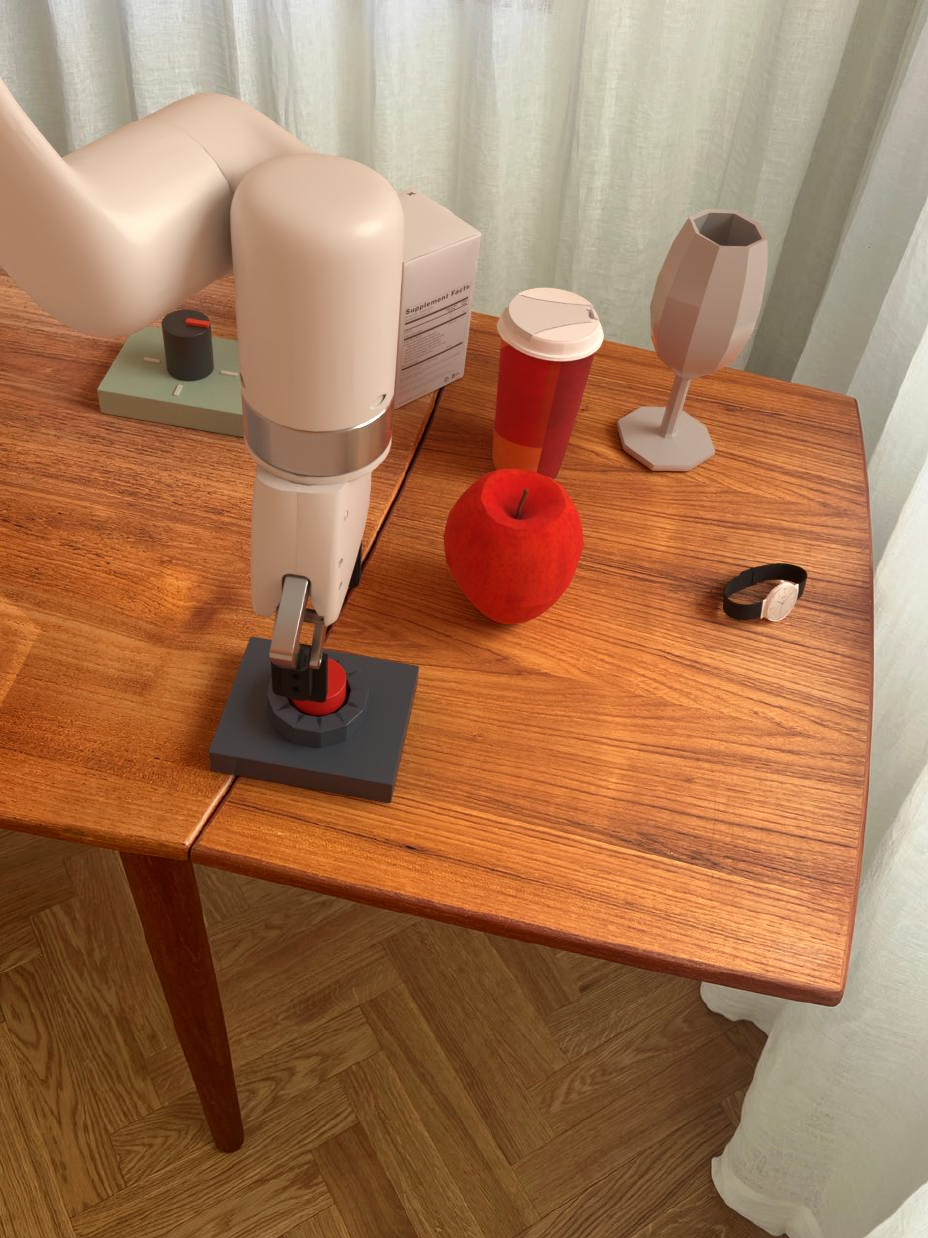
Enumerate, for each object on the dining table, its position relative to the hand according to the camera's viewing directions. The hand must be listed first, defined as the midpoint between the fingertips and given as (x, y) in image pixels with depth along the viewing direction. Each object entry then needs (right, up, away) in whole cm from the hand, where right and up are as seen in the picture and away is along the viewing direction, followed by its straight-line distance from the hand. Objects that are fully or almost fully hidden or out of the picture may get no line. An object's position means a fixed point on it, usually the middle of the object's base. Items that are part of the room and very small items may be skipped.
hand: (318, 635), depth 69 cm
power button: (-1, -4, +4) cm, 6 cm away
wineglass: (+27, +17, +31) cm, 45 cm away
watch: (+32, +2, +19) cm, 38 cm away
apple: (+12, +2, +16) cm, 20 cm away
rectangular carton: (+3, +24, +34) cm, 42 cm away
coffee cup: (+14, +14, +28) cm, 34 cm away
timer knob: (-15, +23, +27) cm, 39 cm away
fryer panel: (-15, +21, +29) cm, 39 cm away
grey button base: (-1, -6, +7) cm, 10 cm away
